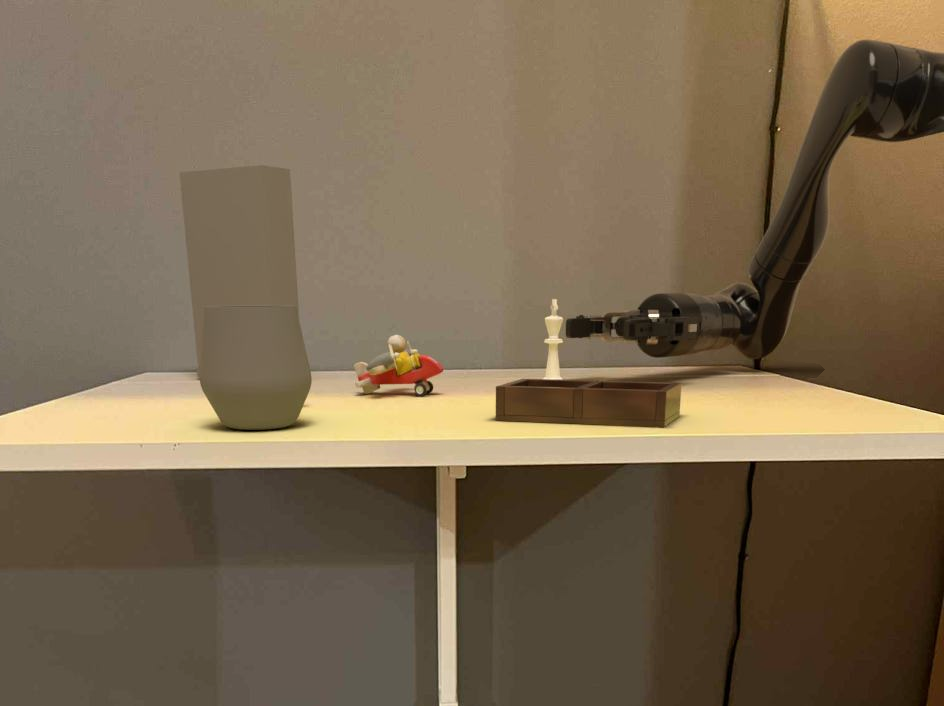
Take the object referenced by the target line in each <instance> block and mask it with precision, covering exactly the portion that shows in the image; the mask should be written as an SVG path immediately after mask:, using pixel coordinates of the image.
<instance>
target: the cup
mask: <svg viewBox="0 0 944 706" xmlns="http://www.w3.org/2000/svg"><path fill="white" fill-rule="evenodd" d="M312 379H313V378H312V372H311V368H310V363H309V358H308V354H307V349H306V346H305V340H304V336H303V332H302V328H301V322H300V317H299V318H298V313H297V308H296V306H294V305H237V306H206V307H205V308H204V323H203V337H202V351H201V366H200V377H199V384H200V388H201V390H202V393H203V394H204V396H205V398H206V399H207V401H208V402H209V404H210V406H211V408H212V409H213V411H214V413H215V414H216V416H217V417H218V419H219V421H220V422H221V424H222V425H224V426H225V427H227V428H230V429H234V430H241V431H242V430H243V431H266V430H276V429H283V428H286V427H290V426H292V425H294V424H295V423H296V422H297V420H298V419H299V417H300V414H301V412H302V410H303V408H304V405H305V403H306V400H307V398H308V396H309V393H310V390H311V388H312V382H313V381H312Z"/></svg>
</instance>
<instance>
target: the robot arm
mask: <svg viewBox="0 0 944 706" xmlns="http://www.w3.org/2000/svg"><path fill="white" fill-rule="evenodd" d="M942 133H944V52H936V51H930V50H926V49H923V48H917V47H910V46H907V45H902V44H898V43H892V42H887V41H882V40H877V39H859V40H856V41H855V42H853V43H852V44H850V45H848V46H847V48H846V49H845V50H844V51H843V52H842V53H841V54H840V56H839V57H838V59H837V61H835V64H834V65H833V67H832V69H831V72H830V73H829V75H828V77H827V80H826V81H825V84H824V86H823V89H822V90H821V94H820V96H819V99H818V101H817V104H816V106H815V109H814V111H813V115H812V117H811V119H810V123H809V126H808V128H807V131H806V134H805V136H804V138H803V141H802V144H801V147H800V150H799V152H798V155H797V158H796V162H795V164H794V167H793V171H792V173H791V175H790V178H789V180H788V184H787V187H786V189H785V192H784V194H783V196H782V198H781V201H780V203H779V206H778V208H777V210H776V212H775V214H774V216H773V219H772V221H771V223H770V224H769V226H768V228H767V230H766V232H765V234H764V235H763V237H762V239H761V241H760V242H759V245H758V247H757V248H756V250H755V252H754V254H753V256H752V257H751V260H750V262H749V265H748V273H747V274H748V277H749V280H750V281H751V283H752V285H753V286H752V285H750V284H747V283H745V282H740V281H739V282H733V283H731V284H729V285H728V286H726V287H724V288H723V289H721V290H718V291H717V292H715V293H713V294H700V293H695V292H663V293H661V292H660V293H653V294H651V295H650V296H648V297H646V298H645V299H644V300H643V301H642V302H641V303H640V304H639V306H638V308H637V309H635V308H633V309H626V310H625V311H604V312H603V313H602V314H600V315H599V314H598V315H591V314H588V315H583V314H579V315H576V316H575V317H573V318H571V317H570V318H567V319H566V321H565V337H566V339H586V340H591V339H595V338H597V339H598V338H599V339H601V340H602V342H606V343H616V342H617V343H621V342H623V343H625V344H628V345H629V344H630V345H631V344H636V345H637V347H638V348H639V349H640V350H641V351H642V352H643V353H644V354H645V355H647V356H649V357H651V358H655V359H656V358H657V359H659V358H661V359H662V358H671V357H683V356H691V355H695V354H698V353H703V352H712V351H720V350H723V349H727V348H728V347H730V346H731V345H732V346H733V347H734V348H735V349H736V350H737V351H738V352H739V353H740V354H741V355H742V356H744V357H746V358H747V359H750V360H760V359H764V358H765V357H767V356H769V355H771V354H772V353H773V352H774V351H775V350H776V349H777V348H778V347H779V346H780V344H781V343H782V341H783V340H784V338H785V336H786V333H787V331H788V329H789V326H790V323H791V319H792V314H793V310H794V307H795V303H796V300H797V296H798V293H799V290H800V286H801V283H802V282H803V280H804V278H805V276H806V275H807V273H808V272H809V271H810V268H811V267H812V265H813V263H814V262H815V260H816V258H817V256H818V255H819V253H820V251H821V249H822V248H823V245H824V243H825V241H826V238H827V235H828V232H829V228H830V227H829V226H830V215H831V213H830V209H831V208H830V180H831V179H830V178H831V171H832V167H833V164H834V161H835V159H836V157H837V155H838V153H839V152H840V150H841V148H842V147H843V145H844V143H845V142H846V141H847V140H848V138H849V137H853V138H858V139H864V140H870V141H875V142H882V143H883V142H884V143H902V142H908V141H913V140H917V139H922V138H925V137H929V136H934V135H939V134H942ZM614 317H615V318H616V317H618V318H617V319H616V321H613V318H614ZM612 331H615V334H616V335H617V336H613V335H612Z"/></svg>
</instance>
